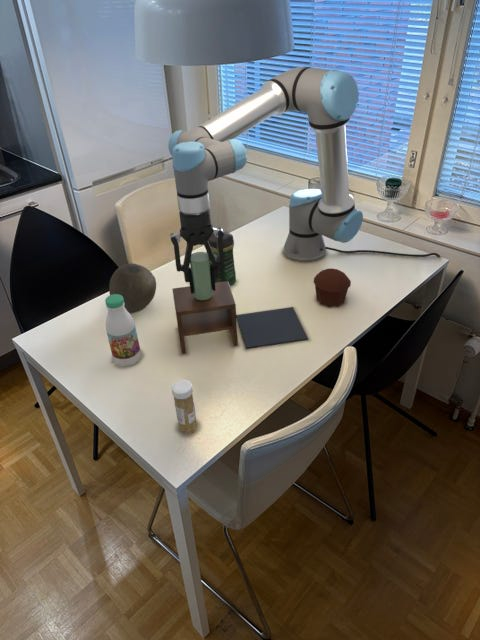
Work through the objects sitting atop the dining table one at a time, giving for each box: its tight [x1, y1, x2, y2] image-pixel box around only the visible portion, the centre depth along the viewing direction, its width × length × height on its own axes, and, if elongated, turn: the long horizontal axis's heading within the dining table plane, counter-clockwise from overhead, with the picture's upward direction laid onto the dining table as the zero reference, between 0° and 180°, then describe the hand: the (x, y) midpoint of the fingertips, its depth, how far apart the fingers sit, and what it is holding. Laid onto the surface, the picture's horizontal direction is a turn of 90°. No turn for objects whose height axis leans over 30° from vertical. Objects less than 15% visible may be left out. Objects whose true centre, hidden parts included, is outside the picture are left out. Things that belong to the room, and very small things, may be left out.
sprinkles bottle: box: [171, 379, 199, 435], centre depth 112 cm, size 5×5×14 cm
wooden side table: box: [171, 281, 239, 355], centre depth 139 cm, size 16×12×14 cm
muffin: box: [312, 267, 352, 308], centre depth 154 cm, size 12×11×10 cm
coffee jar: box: [205, 230, 237, 287], centre depth 162 cm, size 10×8×19 cm
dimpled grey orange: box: [108, 263, 157, 314], centre depth 152 cm, size 14×14×15 cm
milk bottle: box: [104, 294, 142, 367], centre depth 131 cm, size 8×8×20 cm
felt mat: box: [236, 306, 309, 350], centre depth 146 cm, size 18×16×1 cm
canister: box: [189, 251, 213, 300], centre depth 131 cm, size 5×5×12 cm
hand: (202, 289), depth 134 cm, fingers closed on canister, 5 cm apart
